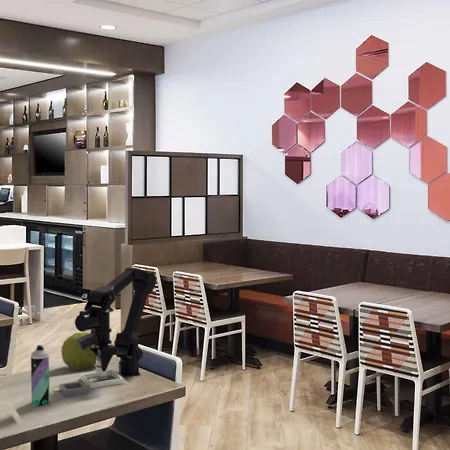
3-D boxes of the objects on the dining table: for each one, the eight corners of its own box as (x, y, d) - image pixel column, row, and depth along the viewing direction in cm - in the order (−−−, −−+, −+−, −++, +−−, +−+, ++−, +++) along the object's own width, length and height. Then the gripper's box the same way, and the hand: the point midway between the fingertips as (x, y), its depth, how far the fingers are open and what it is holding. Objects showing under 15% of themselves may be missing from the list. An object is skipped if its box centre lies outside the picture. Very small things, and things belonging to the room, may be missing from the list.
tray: (113, 378, 238) (112, 369, 238) (123, 387, 228) (123, 378, 228) (80, 382, 233) (80, 374, 233) (90, 392, 222) (90, 383, 222)
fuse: (105, 375, 233) (105, 353, 232) (109, 378, 229) (109, 356, 229) (94, 377, 231) (94, 354, 230) (97, 380, 227) (97, 357, 227)
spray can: (31, 405, 209) (30, 344, 208) (48, 403, 211) (47, 342, 210) (32, 411, 204) (31, 348, 203) (50, 409, 206) (49, 346, 205)
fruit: (79, 359, 262) (97, 327, 262) (98, 379, 254) (117, 346, 253) (48, 355, 250) (66, 321, 249) (67, 376, 241) (87, 340, 240)
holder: (86, 389, 226) (86, 379, 225) (95, 397, 217) (95, 387, 217) (51, 394, 220) (51, 384, 220) (58, 403, 211) (58, 392, 211)
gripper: (71, 322, 233) (72, 365, 234) (86, 334, 217) (86, 380, 218) (102, 319, 238) (102, 361, 240) (118, 330, 222) (118, 375, 223)
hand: (101, 369), depth 230 cm, fingers closed on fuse, 4 cm apart
